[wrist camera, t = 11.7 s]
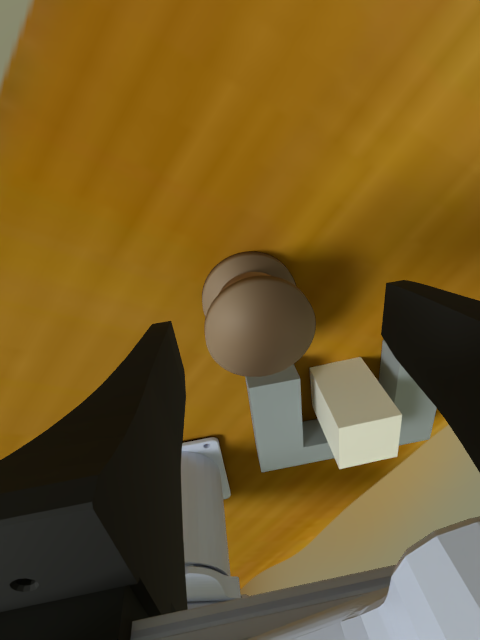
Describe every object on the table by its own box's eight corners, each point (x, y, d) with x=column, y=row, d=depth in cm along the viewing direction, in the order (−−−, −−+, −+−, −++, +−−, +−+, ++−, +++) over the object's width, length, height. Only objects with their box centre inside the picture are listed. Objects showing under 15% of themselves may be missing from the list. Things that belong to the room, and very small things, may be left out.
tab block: (311, 405, 28) (339, 469, 23) (309, 367, 26) (338, 428, 21) (359, 395, 29) (397, 456, 23) (360, 356, 26) (402, 414, 21)
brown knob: (210, 342, 24) (215, 385, 20) (193, 260, 21) (195, 293, 17) (295, 326, 24) (316, 366, 20) (291, 243, 21) (314, 272, 17)
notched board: (256, 447, 30) (261, 472, 28) (243, 365, 25) (248, 388, 23) (412, 416, 31) (429, 439, 28) (428, 331, 26) (449, 350, 24)
